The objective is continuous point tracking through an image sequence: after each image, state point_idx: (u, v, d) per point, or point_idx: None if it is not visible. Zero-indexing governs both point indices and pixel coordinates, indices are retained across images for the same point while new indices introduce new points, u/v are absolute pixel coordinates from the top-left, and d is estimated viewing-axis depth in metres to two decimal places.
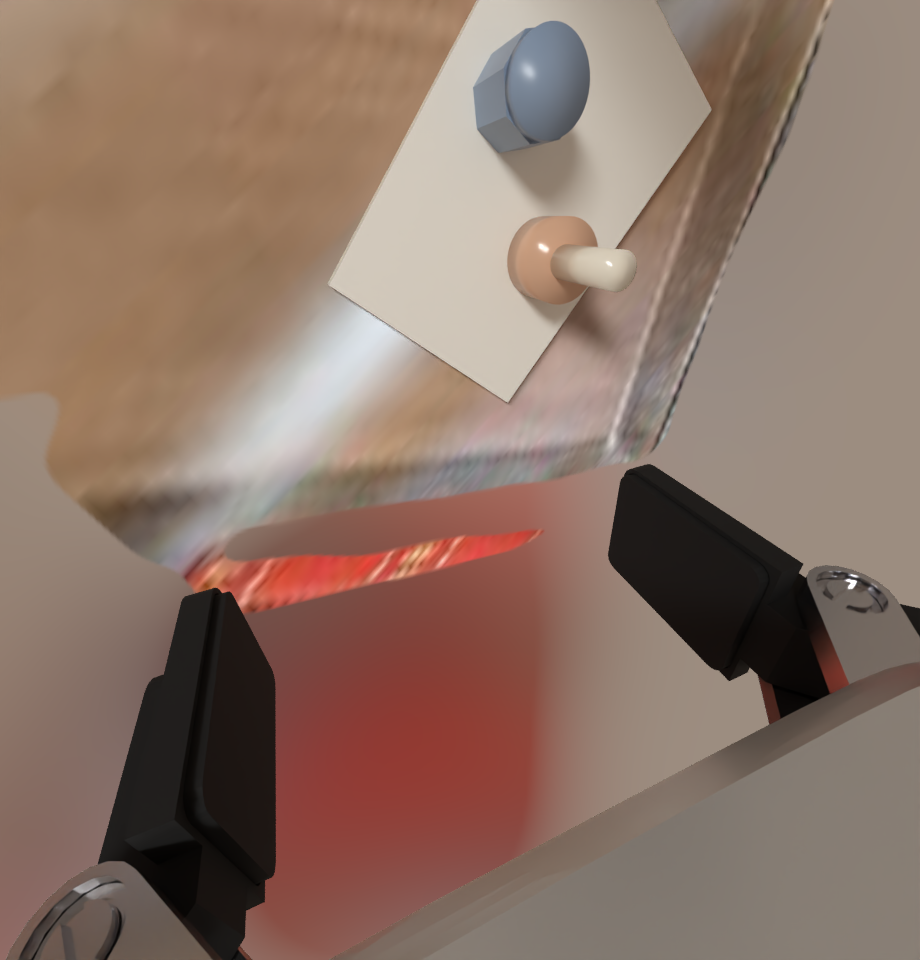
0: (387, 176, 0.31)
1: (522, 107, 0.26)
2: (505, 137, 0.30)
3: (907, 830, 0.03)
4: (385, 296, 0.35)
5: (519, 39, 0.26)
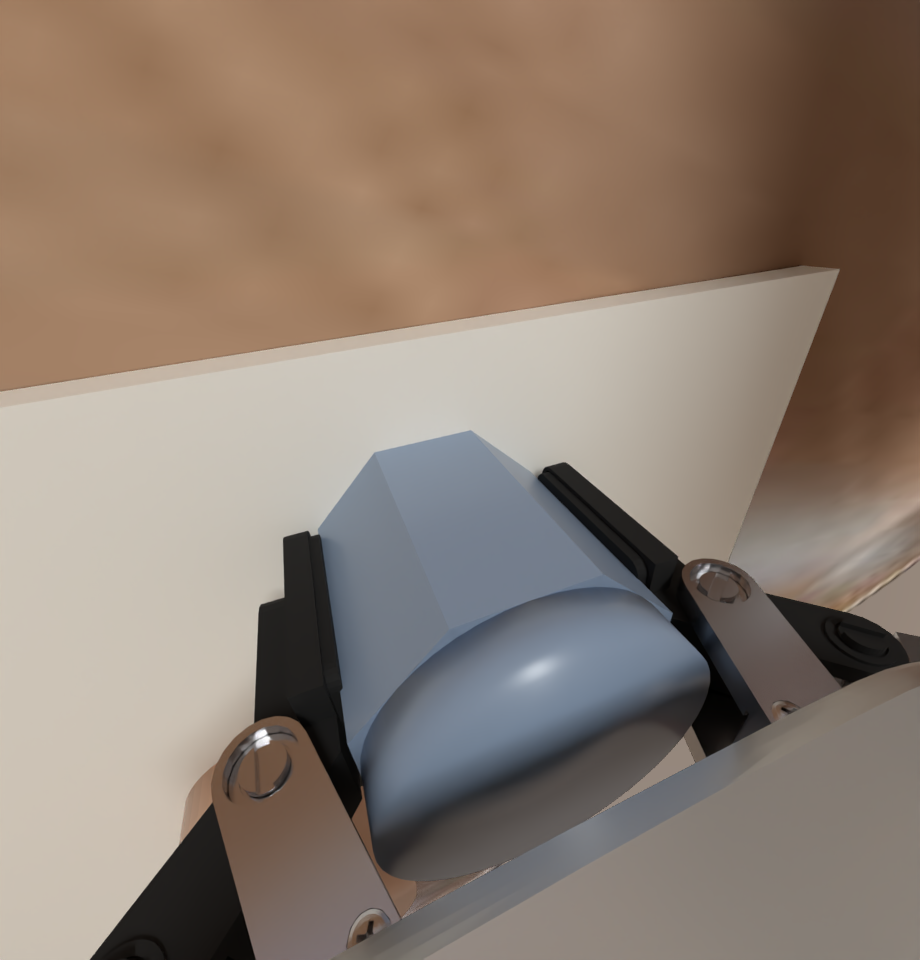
0: None
1: (412, 816, 0.05)
2: None
3: (907, 830, 0.03)
4: None
5: (563, 585, 0.06)
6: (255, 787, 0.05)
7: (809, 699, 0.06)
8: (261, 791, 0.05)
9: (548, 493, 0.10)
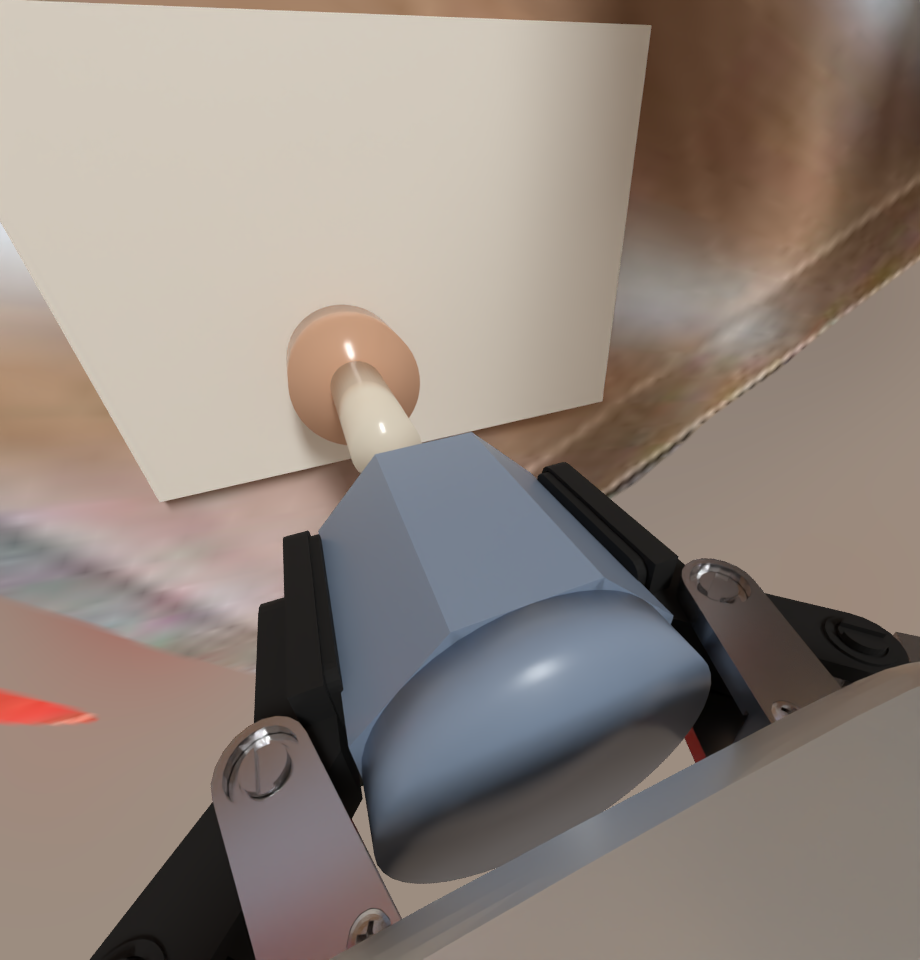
0: (178, 9, 0.16)
1: (413, 819, 0.05)
2: None
3: (907, 830, 0.03)
4: (20, 154, 0.16)
5: (564, 588, 0.06)
6: (255, 787, 0.05)
7: (809, 699, 0.06)
8: (261, 791, 0.05)
9: (549, 495, 0.10)
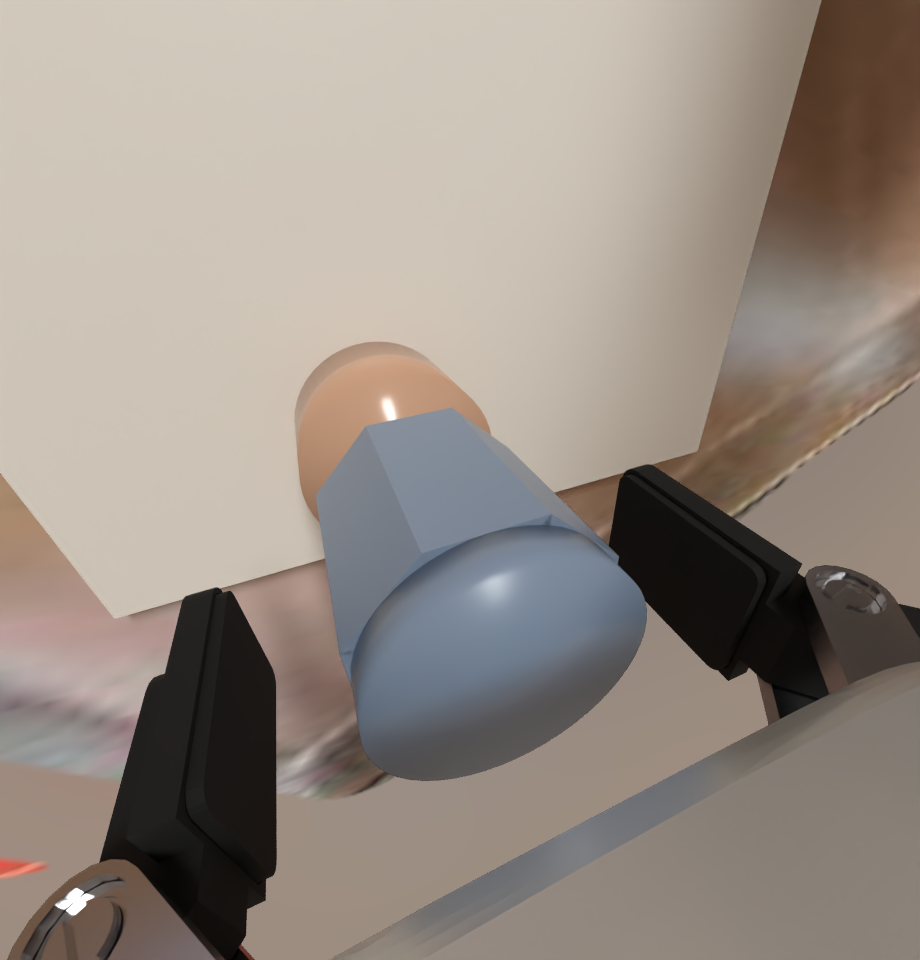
0: None
1: (391, 705, 0.07)
2: None
3: (908, 830, 0.03)
4: None
5: (517, 522, 0.07)
6: None
7: None
8: None
9: (520, 463, 0.11)
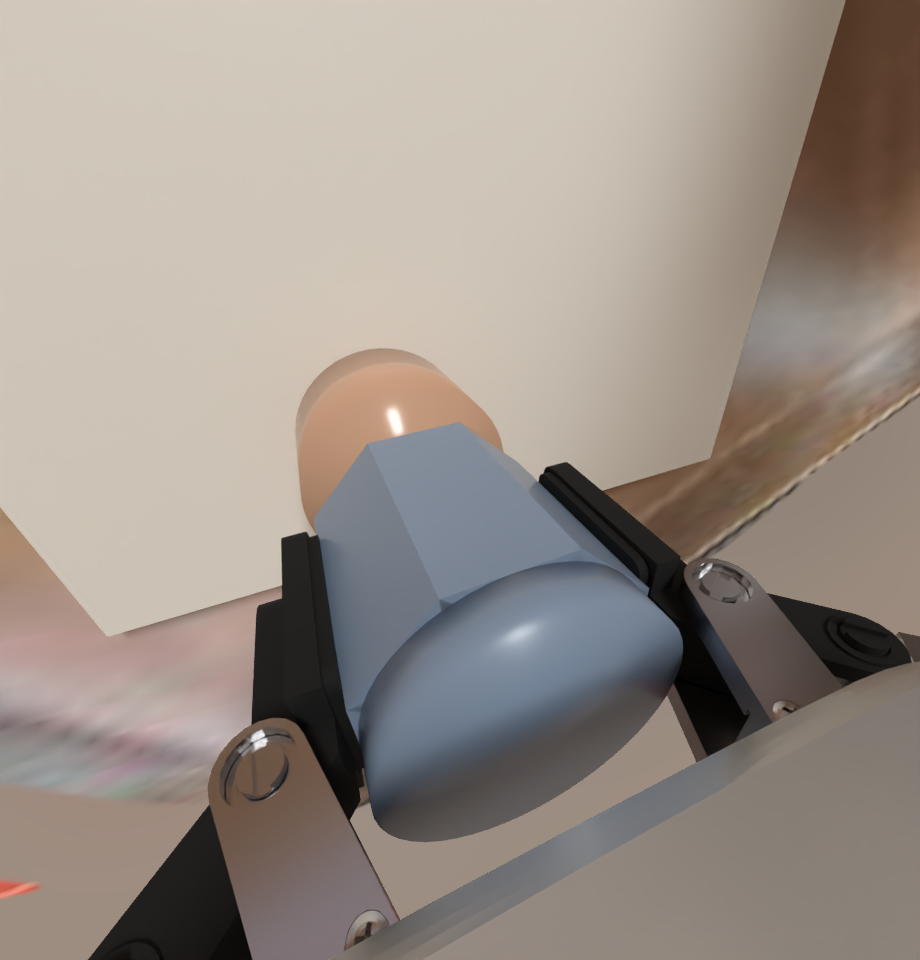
0: None
1: (407, 772, 0.06)
2: None
3: (908, 830, 0.03)
4: None
5: (545, 559, 0.06)
6: (252, 789, 0.05)
7: (812, 699, 0.06)
8: (258, 793, 0.05)
9: (534, 481, 0.10)
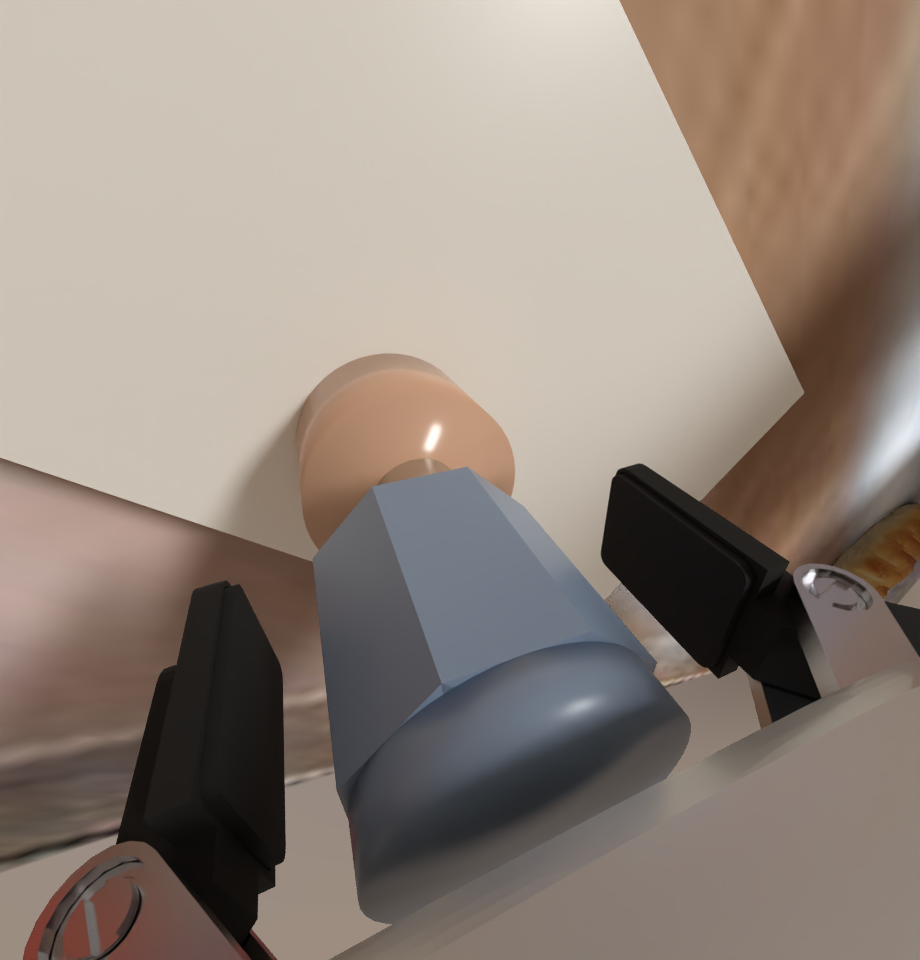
0: None
1: (412, 906, 0.06)
2: None
3: (908, 830, 0.03)
4: None
5: (412, 709, 0.06)
6: (91, 948, 0.04)
7: None
8: (100, 950, 0.04)
9: (470, 505, 0.09)
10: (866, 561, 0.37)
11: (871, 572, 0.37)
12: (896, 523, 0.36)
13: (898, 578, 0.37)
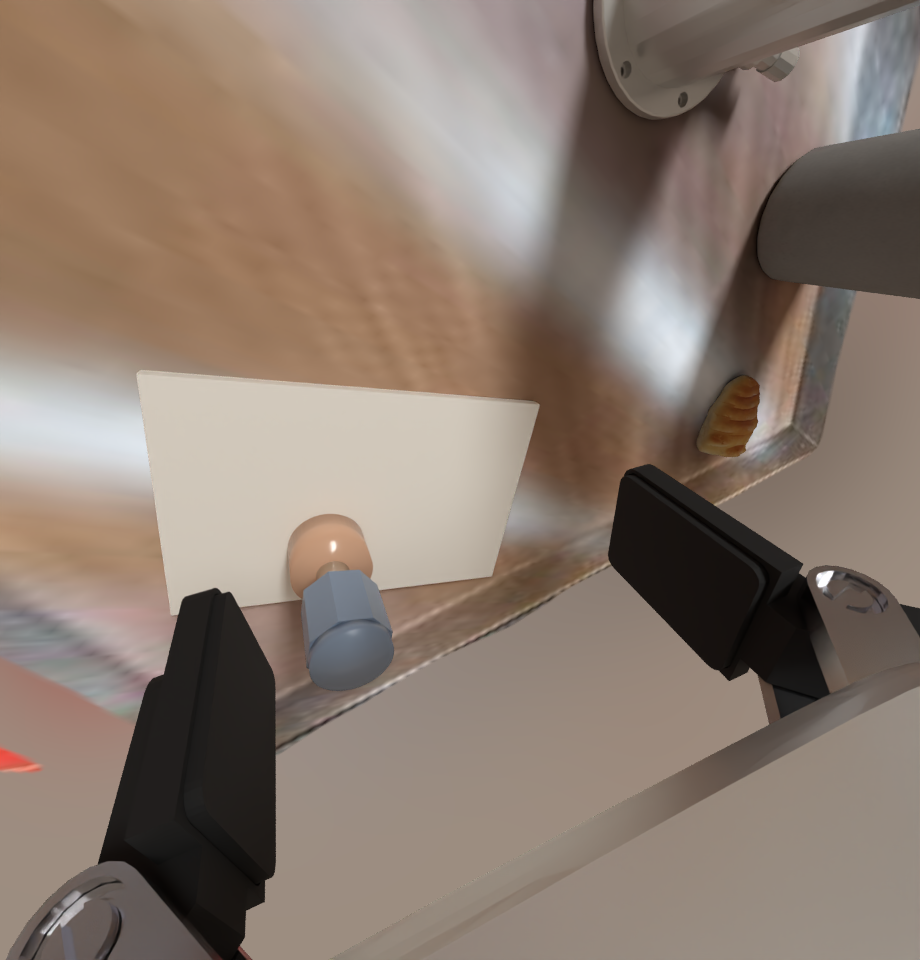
0: (289, 386, 0.30)
1: (336, 686, 0.29)
2: None
3: (908, 830, 0.03)
4: (176, 436, 0.29)
5: (309, 648, 0.28)
6: None
7: None
8: None
9: (325, 589, 0.30)
10: (710, 437, 0.49)
11: (715, 443, 0.49)
12: (721, 402, 0.48)
13: (740, 438, 0.49)
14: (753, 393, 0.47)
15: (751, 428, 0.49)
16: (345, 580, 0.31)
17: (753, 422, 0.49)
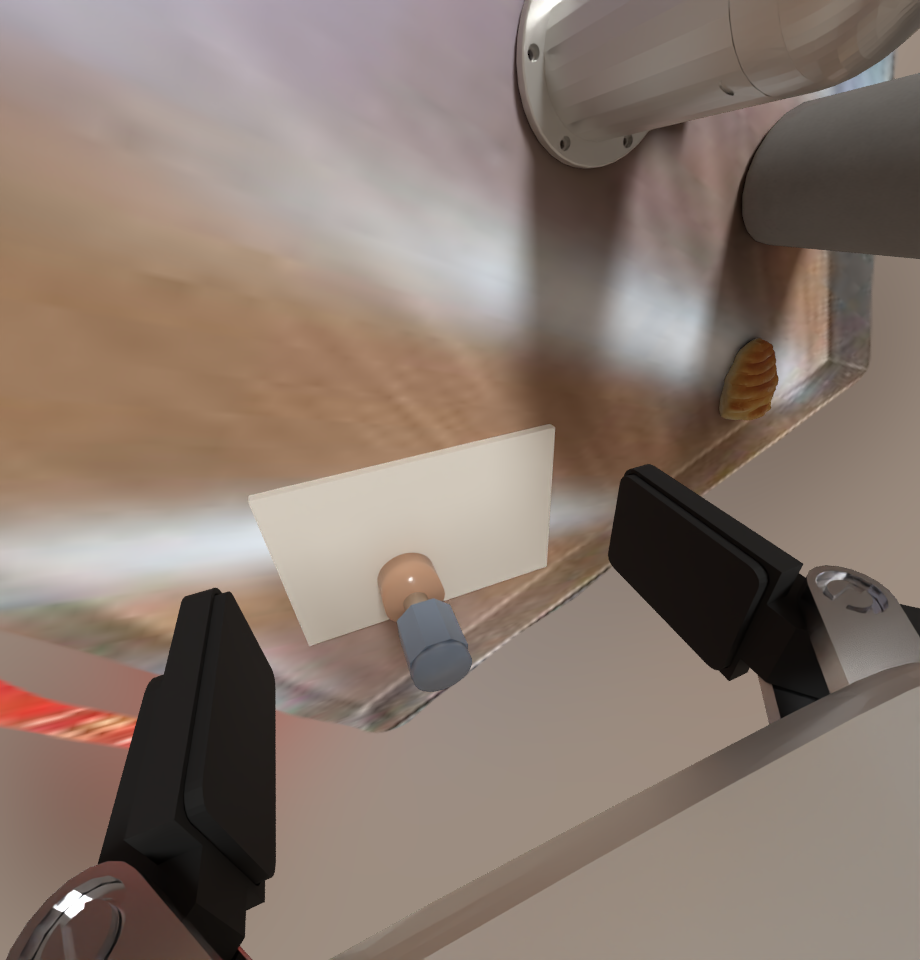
0: (350, 477, 0.39)
1: (435, 688, 0.39)
2: None
3: (907, 829, 0.03)
4: (283, 532, 0.39)
5: (410, 667, 0.38)
6: None
7: None
8: None
9: (412, 620, 0.40)
10: (730, 405, 0.51)
11: (736, 410, 0.51)
12: (734, 371, 0.49)
13: (760, 400, 0.50)
14: (766, 356, 0.48)
15: (771, 388, 0.49)
16: (425, 610, 0.40)
17: (772, 381, 0.50)
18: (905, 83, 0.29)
